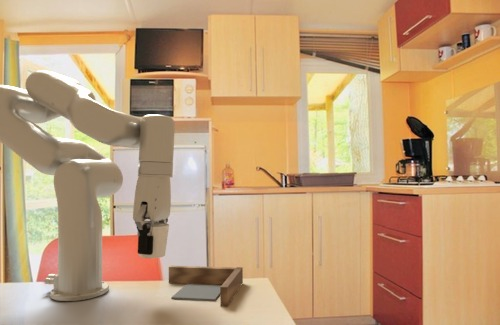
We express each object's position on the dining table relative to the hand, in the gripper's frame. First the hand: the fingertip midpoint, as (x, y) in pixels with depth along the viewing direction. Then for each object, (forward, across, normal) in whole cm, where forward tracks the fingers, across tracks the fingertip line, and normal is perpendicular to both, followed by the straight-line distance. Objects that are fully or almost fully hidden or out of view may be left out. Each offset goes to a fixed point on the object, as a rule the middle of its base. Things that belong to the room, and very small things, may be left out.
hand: (152, 249), depth 83 cm
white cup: (+1, 0, 0) cm, 1 cm away
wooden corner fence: (+11, -6, +9) cm, 15 cm away
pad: (+10, -6, +10) cm, 15 cm away
